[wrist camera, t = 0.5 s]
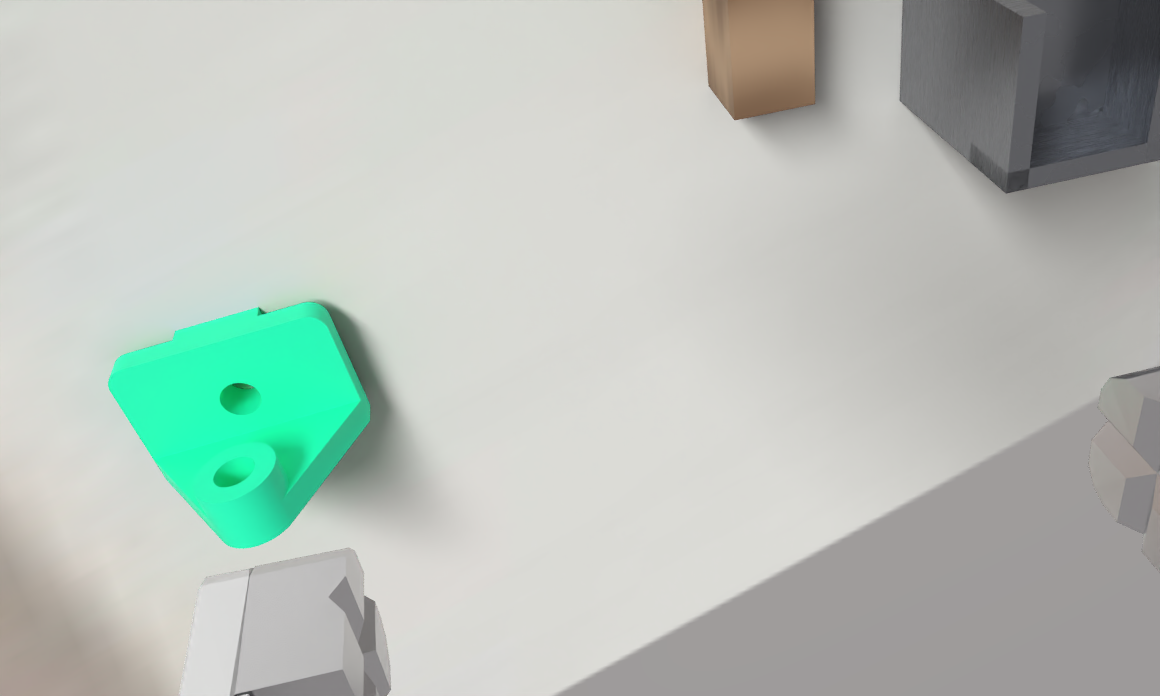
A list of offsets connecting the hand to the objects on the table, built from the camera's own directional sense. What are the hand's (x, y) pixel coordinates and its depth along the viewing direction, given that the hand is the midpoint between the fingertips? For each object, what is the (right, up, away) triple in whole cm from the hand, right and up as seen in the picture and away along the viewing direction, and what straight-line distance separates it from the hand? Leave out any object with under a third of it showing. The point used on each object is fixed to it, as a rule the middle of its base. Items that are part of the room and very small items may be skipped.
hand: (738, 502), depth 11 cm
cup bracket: (+19, +19, +43) cm, 50 cm away
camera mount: (-21, 0, +48) cm, 52 cm away
